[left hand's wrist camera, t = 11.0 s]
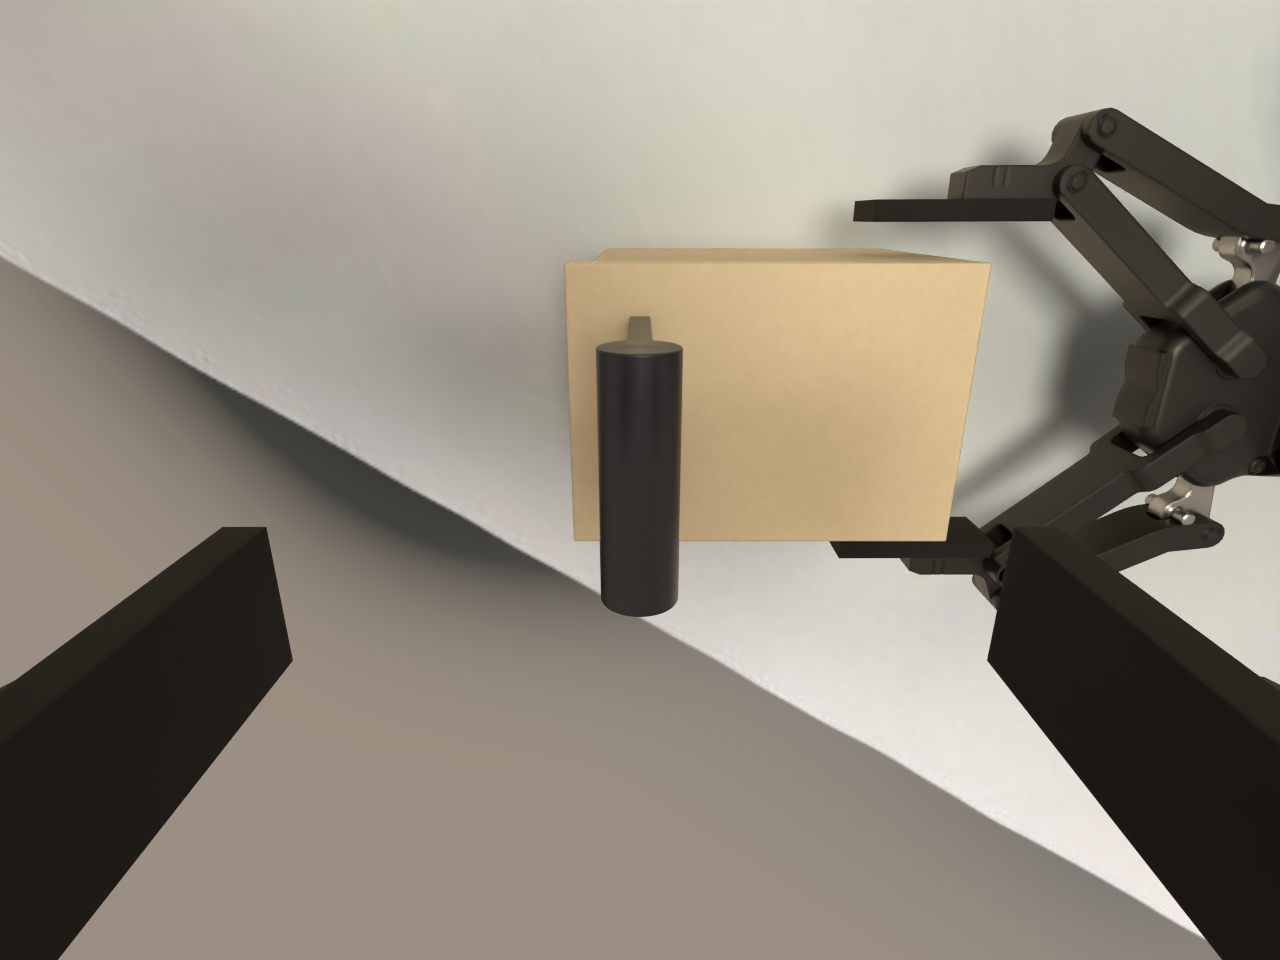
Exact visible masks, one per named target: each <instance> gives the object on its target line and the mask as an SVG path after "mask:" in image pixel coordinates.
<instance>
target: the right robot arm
mask: <svg viewBox="0 0 1280 960" xmlns="http://www.w3.org/2000/svg"><path fill="white" fill-rule="evenodd" d="M1052 143H1053V144H1052V146H1051V148H1050V150H1049V152H1048V153H1047V155H1046V156H1045V158H1044V159H1043V160H1042V161H1041V162H1040V163H1038V164H1037V165H980V166H974V167H968V168H963V169H961V170H959V171H956V172H954V173H951V176H950V184H949V191H948V198H947V199H903V200H865V201H855V207H854V218H853V221H857V222H943V221H1051V222H1052V223H1053V224H1054V225H1055V226H1056V227H1057V229H1058V230H1059V231H1060V232H1061V233H1062V234H1063V235H1064V236H1065V237H1066V238H1067V239H1068V240H1069V241H1070V243H1071V244H1072V245H1073V246H1074V247H1075V248H1076V249H1077V250H1078V251H1079V252H1080V253H1081V254H1082V255H1083V257H1084V258H1085V259H1086V260H1087V261H1088V262H1089V263H1090V264H1091V265H1092V266H1093V267H1094V268H1095V269H1096V271H1097V272H1098V273H1099V274H1100V275H1101V276H1102V277H1103V278H1104V279H1105V280H1106V281H1107V282H1108V283H1109V285H1110V286H1111V287H1112V288H1113V289H1114V290H1115V291H1116V292H1117V293H1118V294H1119V295H1120V296H1121V297H1122V299H1123V300H1124V303H1123V306H1124V307H1125V309H1126V310H1127V311H1128V312H1129V313H1130V314H1131V315H1132V316H1133V317H1134V318H1135V319H1136V320H1137V322H1138V323H1139V324H1140V325H1141V326H1142V327H1143V328H1144V329H1145V330H1146V332H1145V333H1144V334H1143V335H1142V336H1141V337H1140V338H1139V340H1138V341H1137V343H1136V345H1129V348H1128V352H1127V356H1126V361H1125V376H1126V381H1125V383H1124V385H1123V387H1122V389H1121V391H1120V393H1119V395H1118V397H1117V399H1116V403H1115V408H1114V412H1113V417H1116V418H1118V419H1119V426H1117V427H1116V428H1115V429H1113V430H1112V431H1110V432H1109V433H1107V434H1106V435H1104V436H1103V437H1101V438H1100V439H1098V440H1097V441H1096V442H1094V443H1093V444H1092V445H1091V447H1090V453H1089V454H1088V455H1087V456H1085V457H1084V458H1082V459H1081V460H1079V461H1078V462H1076V463H1075V464H1074V465H1072V466H1071V467H1069V468H1068V469H1066V470H1065V471H1063V472H1062V473H1060V474H1059V475H1057V476H1056V477H1055V478H1053V479H1052V480H1050V481H1049V482H1047V483H1046V484H1044V485H1043V486H1041V487H1040V488H1038V489H1037V490H1036V491H1034V492H1033V493H1031V494H1030V495H1028V496H1027V497H1025V498H1024V499H1022V500H1021V501H1019V502H1018V503H1017V504H1015V505H1014V506H1012V507H1011V508H1009V509H1008V510H1006V511H1005V512H1003V513H1002V514H1000V515H999V516H997V517H996V518H995V519H993V520H992V521H990V522H989V523H987V524H986V525H984V526H983V527H981V528H980V529H979V528H977V527H976V526H975V525H974V524H973V523H972V522H971V521H970V520H969V519H968V518H967V517H950V519H949V525H948V531H947V537H946V541H829V542H830V544H831V545H832V547H833V549H834V550H835V552H836V554H837V556H838V557H839V558H900V559H901V561H902V562H903V563H904V565H905V566H906V567H907V568H908V570H909V571H912V572H914V573H917V574H920V575H932V574H973V577H972V582H973V584H974V586H975V587H976V588H977V589H978V590H979V591H980V592H981V593H982V594H983V596H984V597H985V598H986V599H987V600H988V601H989V602H990V603H991V604H992V605H993V607H994V608H995V609H996V610H997V609H998V604H999V599H1000V594H1001V589H1002V584H1003V579H1004V574H1005V569H1006V564H1007V559H1008V553H1009V548H1010V543H1011V538H1012V533H1013V528H1014V527H1058V528H1059V529H1061V530H1062V531H1064V532H1065V533H1066V534H1068V535H1069V536H1070V537H1072V538H1073V539H1074V540H1076V541H1077V542H1078V543H1080V544H1081V545H1082V546H1084V547H1085V548H1086V549H1088V550H1089V551H1091V552H1092V553H1093V554H1095V555H1096V556H1097V557H1099V558H1100V559H1101V560H1103V561H1104V562H1105V563H1107V564H1108V565H1109V566H1111V567H1112V568H1114V569H1115V570H1116V571H1118V572H1119V571H1122V570H1124V569H1127V568H1129V567H1131V566H1134V565H1136V564H1139V563H1141V562H1144V561H1146V560H1149V559H1151V558H1154V557H1156V556H1159V555H1161V554H1164V553H1166V552H1170V551H1180V550H1190V549H1199V548H1208V547H1212V546H1214V545H1216V544H1218V543H1219V542H1220V541H1221V540H1222V539H1223V536H1224V534H1225V533H1224V527H1223V526H1222V525H1221V524H1219V523H1218V522H1216V521H1214V520H1212V519H1210V511H1211V505H1212V499H1213V494H1214V488H1215V486H1216V485H1219V484H1221V483H1224V482H1226V481H1228V480H1230V479H1233V478H1236V477H1240V476H1246V475H1250V476H1274V477H1280V287H1279V286H1278V285H1277V284H1275V283H1276V281H1277V278H1278V276H1279V273H1280V205H1275V204H1267V203H1266V202H1264V201H1262V200H1261V199H1259V198H1258V197H1256V196H1254V195H1253V194H1251V193H1250V192H1248V191H1246V190H1245V189H1243V188H1242V187H1240V186H1238V185H1237V184H1235V183H1234V182H1232V181H1230V180H1229V179H1227V178H1226V177H1224V176H1222V175H1221V174H1219V173H1218V172H1216V171H1214V170H1213V169H1211V168H1210V167H1208V166H1206V165H1205V164H1203V163H1202V162H1200V161H1198V160H1197V159H1195V158H1194V157H1192V156H1190V155H1189V154H1187V153H1186V152H1184V151H1182V150H1181V149H1179V148H1178V147H1176V146H1174V145H1173V144H1171V143H1170V142H1168V141H1166V140H1165V139H1163V138H1162V137H1160V136H1159V135H1157V134H1155V133H1154V132H1152V131H1151V130H1149V129H1147V128H1146V127H1144V126H1143V125H1141V124H1139V123H1138V122H1136V121H1135V120H1133V119H1131V118H1130V117H1128V116H1127V115H1125V114H1123V113H1122V112H1120V111H1119V110H1117V109H1114V108H1106V109H1101V110H1097V111H1093V112H1088V113H1084V114H1080V115H1076V116H1071V117H1067V118H1064V119H1063V120H1061V121H1059V122H1058V124H1057V125H1056V126H1055V127H1054V130H1053V132H1052ZM1094 172H1095V173H1097V174H1098V175H1100V176H1102V177H1103V178H1105V179H1106V180H1108V181H1110V182H1111V183H1113V184H1115V185H1116V186H1118V187H1120V188H1121V189H1123V190H1125V191H1126V192H1128V193H1130V194H1131V195H1133V196H1135V197H1136V198H1138V199H1140V200H1141V201H1143V202H1144V203H1146V204H1148V205H1149V206H1151V207H1153V208H1154V209H1156V210H1158V211H1159V212H1161V213H1163V214H1164V215H1166V216H1168V217H1169V218H1171V219H1173V220H1174V221H1176V222H1178V223H1179V224H1181V225H1183V226H1184V227H1186V228H1188V229H1190V230H1192V231H1194V232H1196V233H1199V234H1201V235H1204V236H1209V237H1214V238H1216V239H1215V240H1214V242H1213V245H1212V247H1213V250H1215V251H1218V252H1219V255H1220V256H1221V257H1222V258H1223V259H1225V260H1227V261H1229V262H1230V263H1231V264H1232V265H1233V267H1234V276H1233V279H1231V280H1228V281H1225V282H1222V283H1220V284H1219V285H1217V286H1215V287H1214V288H1212V289H1211V290H1209V291H1206V290H1205V289H1203V288H1202V287H1199V286H1197V285H1195V284H1194V283H1192V282H1191V281H1190V280H1189V279H1188V278H1187V277H1186V276H1185V275H1184V273H1183V272H1182V271H1181V270H1180V269H1179V268H1178V267H1177V266H1176V264H1175V263H1174V262H1173V261H1172V260H1171V259H1170V258H1169V257H1168V255H1167V254H1166V253H1165V252H1164V251H1163V250H1162V249H1161V248H1160V246H1159V245H1158V244H1157V243H1156V242H1155V241H1154V240H1153V239H1152V237H1151V236H1150V235H1149V234H1148V233H1147V232H1146V231H1145V230H1144V228H1143V227H1142V226H1141V225H1140V224H1139V223H1138V222H1137V221H1136V219H1135V218H1134V217H1133V216H1132V215H1131V214H1130V213H1129V212H1128V210H1127V209H1126V208H1125V207H1124V206H1123V205H1122V204H1121V203H1120V201H1119V200H1118V199H1117V198H1116V197H1115V196H1114V195H1113V194H1112V192H1111V191H1110V190H1109V189H1108V188H1107V187H1106V186H1105V185H1104V183H1103V182H1102V181H1101V180H1100V179H1099V178H1098V177H1097V176H1096V174H1095V173H1094ZM1139 448H1140V449H1141V450H1143V451H1144V452H1145V453H1146V454H1147V456H1143V457H1141V456H1137V455H1135V454H1133V452H1134V451H1136V450H1137V449H1139ZM1175 477H1177V480H1176V483H1175V485H1174V486H1173V487H1172V488H1171V489H1170V490H1169V491H1167V492H1165V493H1162V494H1159V495H1156V494H1150V495H1148V496H1147V497H1146V499H1145V504H1142V505H1136V506H1132V507H1128V508H1125V509H1122V510H1119V511H1116V512H1114V513H1111V514H1109V515H1107V516H1104V517H1102V518H1099V517H1101V516H1102V515H1104V514H1105V513H1107V512H1108V511H1110V510H1111V509H1113V508H1114V507H1116V506H1117V505H1119V504H1120V503H1122V502H1123V501H1125V500H1127V499H1128V498H1130V497H1131V496H1133V495H1134V494H1136V493H1138V492H1149V491H1153V490H1156V489H1158V488H1159V487H1161V486H1163V485H1164V484H1166V483H1167V482H1169V481H1170V480H1172V479H1173V478H1175ZM1098 518H1099V519H1098ZM1096 519H1097V520H1096Z"/></svg>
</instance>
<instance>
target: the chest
mask: <svg viewBox="0 0 1280 960" xmlns="http://www.w3.org/2000/svg"><path fill="white" fill-rule="evenodd" d="M595 261H970V260H962V259H954V258H946V257H938V256H931V255H923V254H915V253H907V252H900V251H892V250H884V249H607V250H606V251H605V252H604V253H602V254H601V255H600V256H599V257H598V258H597V259H596V260H595Z"/></svg>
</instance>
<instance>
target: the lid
mask: <svg viewBox="0 0 1280 960" xmlns="http://www.w3.org/2000/svg"><path fill="white" fill-rule="evenodd" d="M990 269H991V264H990V263H986V262H978V261H568V262H567V263H565V264H564V271H565V300H566V328H567V356H568V384H569V413H570V441H571V469H572V497H573V526H574V540H575V541H600V568H601V599H602V602H603V603H604V605H605V606H606V607H607V608H608V609H610V610H611V611H613V612H616V613H619V614H622V615H626V616H633V617H646V616H653V615H657V614H661V613H663V612H666V611H668V610H669V609H671V608H672V607H673V606H674V605H675V604H676V602H677V599H678V571H679V541H946V537H947V531H948V525H949V519H950V512H951V506H952V500H953V494H954V488H955V482H956V476H957V470H958V464H959V458H960V452H961V445H962V439H963V433H964V427H965V421H966V415H967V409H968V403H969V397H970V391H971V385H972V378H973V372H974V366H975V360H976V354H977V348H978V342H979V336H980V330H981V324H982V318H983V311H984V305H985V299H986V293H987V287H988V281H989V275H990Z"/></svg>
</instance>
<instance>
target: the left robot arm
mask: <svg viewBox="0 0 1280 960" xmlns="http://www.w3.org/2000/svg"><path fill="white" fill-rule="evenodd" d="M292 661H293V659H292V654H291V649H290V644H289V639H288V634H287V629H286V624H285V619H284V614H283V609H282V604H281V599H280V594H279V589H278V584H277V579H276V574H275V569H274V564H273V559H272V554H271V548H270V544H269V538H268V533H267V528H266V527H222V528H221V529H219V530H218V531H217V532H215V533H214V534H213V535H211V536H210V537H208V538H207V539H206V540H204V541H203V542H202V543H200V544H199V545H198V546H196V547H195V548H194V549H192V550H191V551H189V552H188V553H187V554H185V555H184V556H183V557H181V558H180V559H179V560H177V561H176V562H175V563H173V564H172V565H171V566H169V567H168V568H166V569H165V570H164V571H162V572H161V573H160V574H158V575H157V576H156V577H154V578H153V579H152V580H150V581H149V582H148V583H146V584H145V585H143V586H142V587H141V588H139V589H138V590H137V591H135V592H134V593H133V594H131V595H130V596H129V597H127V598H126V599H125V600H123V601H122V602H121V603H119V604H118V605H116V606H115V607H114V608H112V609H111V610H110V611H108V612H107V613H106V614H104V615H103V616H102V617H100V618H99V619H98V620H96V621H95V622H94V623H92V624H91V625H89V626H88V627H87V628H85V629H84V630H83V631H81V632H80V633H79V634H77V635H76V636H75V637H73V638H72V639H70V640H69V641H68V642H66V643H65V644H64V645H62V646H61V647H60V648H58V649H57V650H56V651H54V652H53V653H52V654H50V655H49V656H47V657H46V658H45V659H43V660H42V661H41V662H39V663H38V664H37V665H35V666H34V667H33V668H31V669H30V670H29V671H27V672H26V673H24V674H23V675H22V676H20V677H19V678H18V679H16V680H15V681H13V682H11V683H9V684H7V685H5V686H3V687H1V688H0V960H58V959H59V958H60V956H61V955H62V954H63V953H64V951H65V950H66V949H67V947H68V946H69V945H70V944H71V942H72V941H73V940H74V938H75V937H76V936H77V935H78V933H79V932H80V931H81V930H82V928H83V927H84V926H85V924H86V923H87V922H88V921H89V919H90V918H91V917H92V916H93V914H94V913H95V912H96V911H97V909H98V908H99V907H100V905H101V904H102V903H103V902H104V900H105V899H106V898H107V896H108V895H109V894H110V893H111V891H112V890H113V889H114V888H115V886H116V885H117V884H118V882H119V881H120V880H121V879H122V877H123V876H124V875H125V873H126V872H127V871H128V870H129V868H130V867H131V866H132V865H133V863H134V862H135V861H136V860H137V858H138V857H139V856H140V854H141V853H142V852H143V851H144V849H145V848H146V847H147V846H148V844H149V843H150V842H151V840H152V839H153V838H154V837H155V835H156V834H157V833H158V832H159V830H160V829H161V828H162V826H163V825H164V824H165V823H166V821H167V820H168V819H169V818H170V816H171V815H172V814H173V812H174V811H175V810H176V809H177V807H178V806H179V805H180V803H181V802H182V801H183V800H184V798H185V797H186V796H187V795H188V793H189V792H190V791H191V789H192V788H193V787H194V786H195V784H196V783H197V782H198V781H199V779H200V778H201V777H202V776H203V774H204V773H205V772H206V770H207V769H208V768H209V767H210V765H211V764H212V763H213V762H214V760H215V759H216V758H217V756H218V755H219V754H220V753H221V751H222V750H223V749H224V747H225V746H226V745H227V744H228V742H229V741H230V740H231V739H232V737H233V736H234V735H235V733H236V732H237V731H238V730H239V728H240V727H241V726H242V725H243V723H244V722H245V721H246V719H247V718H248V717H249V716H250V714H251V713H252V712H253V711H254V709H255V708H256V707H257V705H258V704H259V703H260V702H261V700H262V699H263V698H264V696H265V695H266V694H267V693H268V691H269V690H270V689H271V688H272V686H273V685H274V684H275V683H276V681H277V680H278V679H279V677H280V676H281V675H282V674H283V672H284V671H285V670H286V669H287V667H288V666H289V665H290V663H291V662H292ZM987 661H988V662H989V663H990V665H991V666H992V667H993V669H994V670H995V671H996V672H997V674H998V675H999V676H1000V677H1001V679H1002V680H1003V681H1004V683H1005V684H1006V685H1007V686H1008V688H1009V689H1010V690H1011V691H1012V693H1013V694H1014V695H1015V697H1016V698H1017V699H1018V700H1019V702H1020V703H1021V704H1022V705H1023V707H1024V708H1025V709H1026V711H1027V712H1028V713H1029V714H1030V716H1031V717H1032V718H1033V719H1034V721H1035V722H1036V723H1037V725H1038V726H1039V727H1040V728H1041V730H1042V731H1043V732H1044V733H1045V735H1046V736H1047V737H1048V739H1049V740H1050V741H1051V742H1052V744H1053V745H1054V746H1055V747H1056V749H1057V750H1058V751H1059V753H1060V754H1061V755H1062V756H1063V758H1064V759H1065V760H1066V762H1067V763H1068V764H1069V765H1070V767H1071V768H1072V769H1073V770H1074V772H1075V773H1076V774H1077V776H1078V777H1079V778H1080V779H1081V781H1082V782H1083V783H1084V784H1085V786H1086V787H1087V788H1088V790H1089V791H1090V792H1091V793H1092V795H1093V796H1094V797H1095V798H1096V800H1097V801H1098V802H1099V804H1100V805H1101V806H1102V807H1103V809H1104V810H1105V811H1106V812H1107V814H1108V815H1109V816H1110V818H1111V819H1112V820H1113V821H1114V823H1115V824H1116V825H1117V826H1118V828H1119V829H1120V830H1121V832H1122V833H1123V834H1124V835H1125V837H1126V838H1127V839H1128V840H1129V842H1130V843H1131V844H1132V846H1133V847H1134V848H1135V849H1136V851H1137V852H1138V853H1139V854H1140V856H1141V857H1142V858H1143V860H1144V861H1145V862H1146V863H1147V865H1148V866H1149V867H1150V868H1151V870H1152V871H1153V872H1154V874H1155V875H1156V876H1157V877H1158V879H1159V880H1160V881H1161V883H1162V884H1163V885H1164V886H1165V888H1166V889H1167V890H1168V891H1169V893H1170V894H1171V895H1172V897H1173V898H1174V899H1175V900H1176V902H1177V903H1178V904H1179V905H1180V907H1181V908H1182V909H1183V911H1184V912H1185V913H1186V914H1187V916H1188V917H1189V918H1190V919H1191V921H1192V922H1193V923H1194V925H1195V926H1196V927H1197V928H1198V930H1199V931H1200V932H1201V933H1202V935H1203V936H1204V937H1205V939H1206V940H1207V941H1208V942H1209V944H1210V945H1211V946H1212V947H1213V949H1214V950H1215V951H1216V953H1217V954H1218V955H1219V956H1220V958H1221V959H1222V960H1280V685H1279V684H1277V683H1275V682H1273V681H1271V680H1269V679H1267V678H1265V677H1260V676H1258V675H1257V674H1256V673H1254V672H1253V671H1251V670H1250V669H1249V668H1247V667H1246V666H1245V665H1243V664H1242V663H1241V662H1239V661H1238V660H1237V659H1235V658H1234V657H1233V656H1231V655H1230V654H1228V653H1227V652H1226V651H1224V650H1223V649H1222V648H1220V647H1219V646H1218V645H1216V644H1215V643H1214V642H1212V641H1211V640H1210V639H1208V638H1207V637H1205V636H1204V635H1203V634H1201V633H1200V632H1199V631H1197V630H1196V629H1195V628H1193V627H1192V626H1191V625H1189V624H1188V623H1187V622H1185V621H1184V620H1182V619H1181V618H1180V617H1178V616H1177V615H1176V614H1174V613H1173V612H1172V611H1170V610H1169V609H1168V608H1166V607H1165V606H1164V605H1162V604H1161V603H1160V602H1158V601H1157V600H1155V599H1154V598H1153V597H1151V596H1150V595H1149V594H1147V593H1146V592H1145V591H1143V590H1142V589H1141V588H1139V587H1138V586H1137V585H1135V584H1134V583H1132V582H1131V581H1130V580H1128V579H1127V578H1126V577H1124V576H1123V575H1122V574H1120V573H1119V572H1118V571H1116V570H1115V569H1114V568H1112V567H1111V566H1109V565H1108V564H1107V563H1105V562H1104V561H1103V560H1101V559H1100V558H1099V557H1097V556H1096V555H1095V554H1093V553H1092V552H1091V551H1089V550H1088V549H1086V548H1085V547H1084V546H1082V545H1081V544H1080V543H1078V542H1077V541H1076V540H1074V539H1073V538H1072V537H1070V536H1069V535H1068V534H1066V533H1065V532H1064V531H1062V530H1061V529H1059V528H1058V527H1014V528H1013V533H1012V538H1011V543H1010V548H1009V553H1008V559H1007V564H1006V569H1005V574H1004V579H1003V584H1002V589H1001V594H1000V599H999V604H998V609H997V614H996V619H995V624H994V629H993V634H992V639H991V644H990V649H989V654H988V659H987Z"/></svg>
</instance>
